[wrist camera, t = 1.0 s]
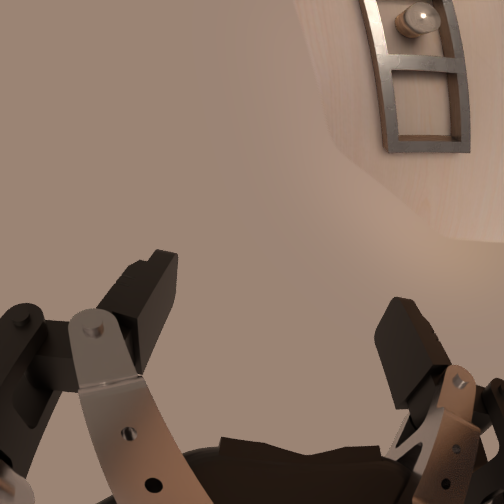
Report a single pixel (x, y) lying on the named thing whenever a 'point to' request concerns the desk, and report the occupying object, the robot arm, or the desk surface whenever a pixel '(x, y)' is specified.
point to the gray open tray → (453, 64)
